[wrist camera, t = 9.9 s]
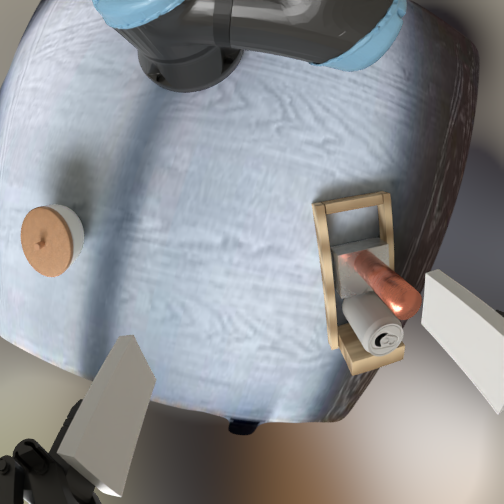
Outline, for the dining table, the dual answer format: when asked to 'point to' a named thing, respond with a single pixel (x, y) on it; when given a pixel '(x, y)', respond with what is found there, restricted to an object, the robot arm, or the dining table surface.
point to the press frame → (344, 333)
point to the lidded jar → (52, 239)
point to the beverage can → (373, 323)
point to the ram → (372, 276)
